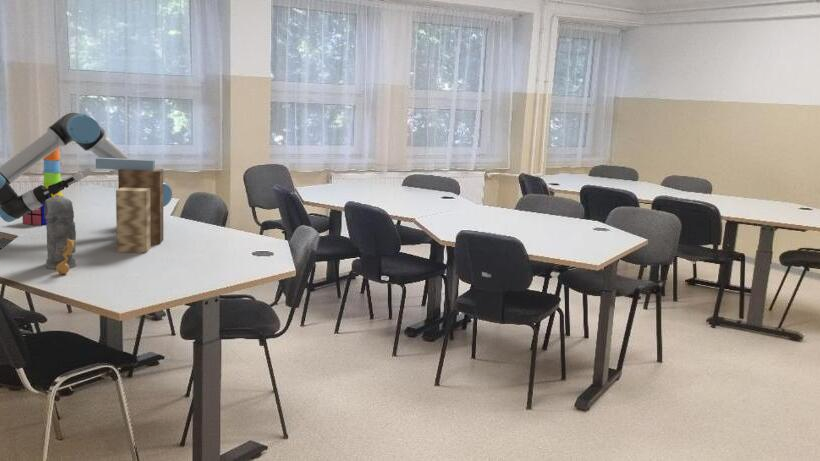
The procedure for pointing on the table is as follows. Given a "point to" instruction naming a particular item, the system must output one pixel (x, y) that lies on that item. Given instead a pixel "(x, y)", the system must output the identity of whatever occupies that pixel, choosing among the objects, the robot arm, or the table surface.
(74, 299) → the table surface
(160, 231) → the tower
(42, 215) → the puzzle cube
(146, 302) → the table surface
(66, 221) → the figurine
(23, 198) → the robot arm
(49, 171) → the stacking cups
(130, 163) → the beam
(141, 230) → the tan tall block
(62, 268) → the figurine
